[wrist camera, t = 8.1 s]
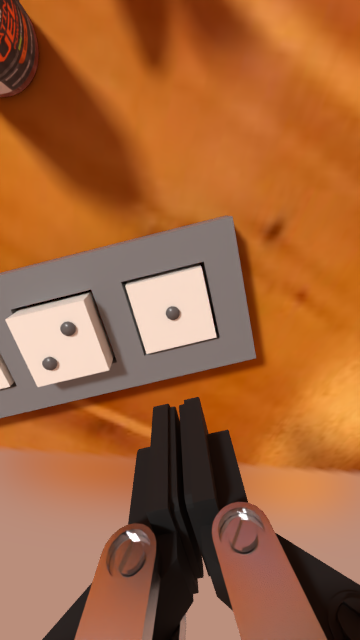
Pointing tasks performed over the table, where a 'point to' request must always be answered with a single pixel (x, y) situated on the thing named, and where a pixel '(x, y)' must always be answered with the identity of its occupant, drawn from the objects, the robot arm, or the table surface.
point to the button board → (130, 311)
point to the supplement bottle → (16, 48)
